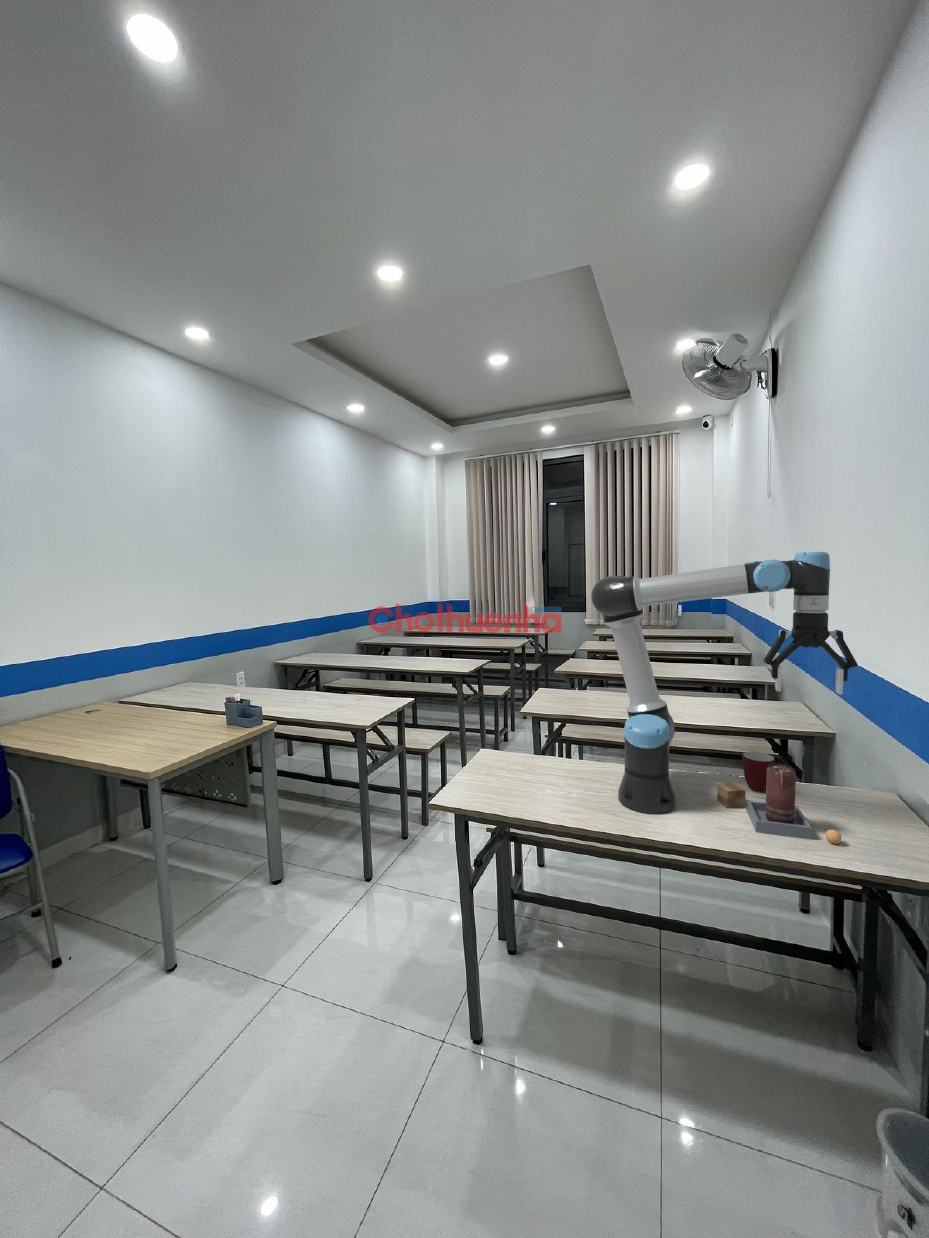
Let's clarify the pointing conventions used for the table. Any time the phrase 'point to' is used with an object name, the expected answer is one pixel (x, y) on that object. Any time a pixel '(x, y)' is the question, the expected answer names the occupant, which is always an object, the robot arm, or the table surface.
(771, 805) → the can
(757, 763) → the mug
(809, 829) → the tray
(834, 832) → the rubber ball
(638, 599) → the robot arm
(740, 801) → the walnut block
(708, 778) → the table surface
